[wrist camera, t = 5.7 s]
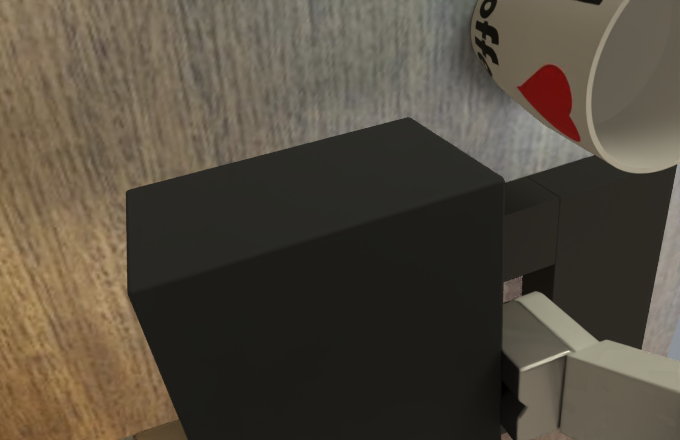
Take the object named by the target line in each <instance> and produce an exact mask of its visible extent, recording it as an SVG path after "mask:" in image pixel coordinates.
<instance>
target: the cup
mask: <svg viewBox="0 0 680 440" xmlns="http://www.w3.org/2000/svg"><path fill="white" fill-rule="evenodd" d="M471 41H472V46H473V49H474V52H475V54H476V56H477V58H478V59H479V61H480V62H481V63H482V65H483V66H484V67H485V69H486V70H487V71H488V73H489V74H490V76H491V77H492V78H493V80H494V81H495V82H496V84H497V85H498V86H499V87H500V88H501V89H502V90H503V91H504V92H505V93H506V94H508V95H509V96H510V97H511V98H512V99H514V100H515V101H516V102H517V103H518V104H520V105H521V106H522V107H523V108H524V109H526V110H527V111H528V112H529V113H530V114H532V115H533V116H534V117H535V118H536V119H538V120H539V121H540V122H541V123H543V124H544V125H545V126H547V127H549V128H550V129H552V130H554V131H555V132H557V133H559V134H560V135H562V136H564V137H565V138H567V139H569V140H570V141H572V142H574V143H576V144H577V145H579V146H581V147H582V148H584V149H586V150H587V151H589V152H591V153H592V154H594V155H596V156H597V157H599V158H601V159H602V160H604V161H606V162H607V163H609V164H611V165H612V166H614V167H616V168H618V169H620V170H623V171H626V172H631V173H651V172H656V171H660V170H664V169H667V168H669V167H672V166H674V165H676V164H678V163H680V0H479V1H478V3H477V5H476V7H475V10H474V13H473V17H472V23H471Z"/></svg>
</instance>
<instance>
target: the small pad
mask: <svg viewBox="0 0 680 440" xmlns="http://www.w3.org/2000/svg"><path fill="white" fill-rule="evenodd" d="M504 216H505V181H504V178H503V177H501V176H500V175H498V174H497V173H495V172H494V171H492V170H491V169H489V168H488V167H486V166H484V165H483V164H481V163H480V162H478V161H477V160H475V159H474V158H472V157H470V156H469V155H467V154H466V153H464V152H463V151H461V150H460V149H458V148H457V147H455V146H453V145H452V144H450V143H449V142H447V141H446V140H444V139H443V138H441V137H440V136H438V135H436V134H435V133H433V132H432V131H430V130H429V129H427V128H426V127H424V126H422V125H421V124H419V123H418V122H416V121H415V120H413V119H412V118H409V117H407V118H403V119H399V120H396V121H392V122H388V123H384V124H380V125H376V126H373V127H369V128H365V129H361V130H357V131H353V132H349V133H346V134H342V135H338V136H334V137H330V138H326V139H322V140H319V141H315V142H311V143H307V144H303V145H299V146H296V147H292V148H288V149H284V150H280V151H276V152H272V153H269V154H265V155H261V156H257V157H253V158H249V159H245V160H242V161H238V162H234V163H230V164H226V165H222V166H219V167H215V168H211V169H207V170H203V171H199V172H195V173H192V174H188V175H184V176H180V177H176V178H172V179H168V180H165V181H161V182H157V183H153V184H149V185H145V186H142V187H138V188H134V189H130V190H128V191H126V232H127V291H128V296H129V298H130V301H131V303H132V306H133V308H134V311H135V313H136V315H137V318H138V320H139V323H140V325H141V328H142V330H143V332H144V335H145V337H146V340H147V342H148V345H149V347H150V349H151V352H152V354H153V357H154V359H155V362H156V364H157V366H158V369H159V371H160V374H161V376H162V379H163V381H164V383H165V386H166V388H167V391H168V393H169V396H170V398H171V400H172V403H173V405H174V408H175V410H176V413H177V415H178V417H179V420H180V422H181V425H182V427H183V430H184V432H185V434H186V437H187V439H188V440H501V424H500V402H501V396H502V380H501V350H502V345H503V280H504Z"/></svg>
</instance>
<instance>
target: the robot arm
mask: <svg viewBox="0 0 680 440" xmlns="http://www.w3.org/2000/svg"><path fill="white" fill-rule="evenodd" d="M501 380H502V396H501V402H500V424H501V425H502V426H503V428H504V429H505V430H506V431H507V433H508V434H509V435H510V436H511V438H512V439H513V440H533V439H536V438H539V437H541V436H544V435H546V434H549V433H551V432H554V431H557V430H559V429H560V432H561V433H563V434H565V435H566V436H568V437H570V438H572V439H574V440H680V361H677V360H673V359H670V358H667V357H663V356H660V355H657V354H653V353H650V352H647V351H643V350H640V349H637V348H633V347H630V346H627V345H623V344H620V343H617V342H613V341H610V340H604V341H601V342H599V341H598V340H597V339H595V338H594V337H593V336H592V335H591V334H589V333H588V332H587V331H586V330H585V329H584V328H582V327H581V326H580V325H579V324H578V323H577V322H575V321H574V320H573V319H572V318H571V317H569V316H568V315H567V314H566V313H565V312H564V311H562V310H561V309H560V308H559V307H558V306H557V305H555V304H554V303H553V302H552V301H551V300H549V299H548V298H547V297H546V296H545V295H544V294H542V293H540V292H537V291H535V292H532V293H529V294H527V295H524V296H521V297H519V298H516V299H513V300H512V301H508V302H505V303H503V345H502V350H501ZM119 440H188V439H187V437H186V434H185V432H184V430H183V427H182V425H181V422H180V420H179V419H178V420H175V421H172V422H168V423H165V424H162V425H159V426H156V427H153V428H150V429H147V430H144V431H141V432H138V433H136V434H134V435H131V436H128V437H125V438H122V439H119Z"/></svg>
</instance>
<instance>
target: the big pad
mask: <svg viewBox="0 0 680 440" xmlns="http://www.w3.org/2000/svg"><path fill="white" fill-rule="evenodd" d="M676 168H677V164H676V165H674V166H672V167H669V168H667V169H664V170H660V171H656V172H651V173H631V172H626V171H623V170H620V169H618V168H616V167H614V166H612V165H611V164H609V163H607V162H606V161H604V160H602V159H601V158H599V157H597V156H596V155H595V156H592V157H589V158H586V159H583V160H579V161H576V162H573V163H570V164H566V165H563V166H560V167H557V168H553V169H550V170H547V171H544V172H541V173H537V174H534V175H531V176H528V177H524V178H521V179H518V180H515V181H511V182H508V183H505V216H504V280H503V282H505V281H508V280H511V279H514V278H517V277H520V276H522V275H523V296H524V295H527V294H529V293H532V292H535V291H537V292H540V293H542V294H544V295H545V296H546V297H547V298H548V299H549V300H551V301H552V302H553V303H554V304H555V305H557V306H558V307H559V308H560V309H561V310H562V311H564V312H565V313H566V314H567V315H568V316H569V317H571V318H572V319H573V320H574V321H575V322H577V323H578V324H579V325H580V326H581V327H582V328H584V329H585V330H586V331H587V332H588V333H589V334H591V335H592V336H593V337H594V338H595V339H597V340H598V341H599V342H601V341H604V340H610V341H613V342H617V343H620V344H623V345H627V346H630V347H633V348H637V349H640V350H641V349H642V344H643V339H644V334H645V328H646V323H647V318H648V313H649V308H650V302H651V297H652V292H653V287H654V282H655V277H656V271H657V266H658V261H659V256H660V251H661V246H662V240H663V235H664V230H665V225H666V220H667V214H668V209H669V204H670V199H671V194H672V189H673V183H674V178H675V173H676ZM506 432H507V431H506V430H505V429H504V428H503V426H502V425H501V434H504V433H506Z"/></svg>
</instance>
